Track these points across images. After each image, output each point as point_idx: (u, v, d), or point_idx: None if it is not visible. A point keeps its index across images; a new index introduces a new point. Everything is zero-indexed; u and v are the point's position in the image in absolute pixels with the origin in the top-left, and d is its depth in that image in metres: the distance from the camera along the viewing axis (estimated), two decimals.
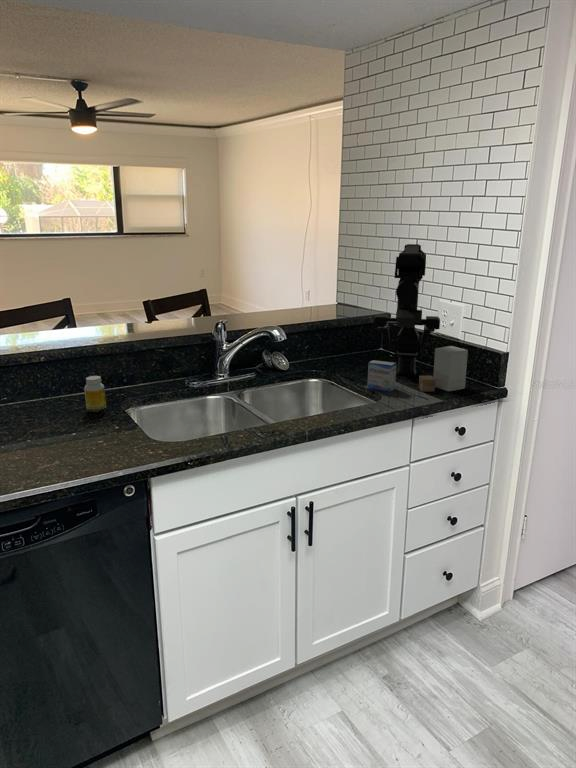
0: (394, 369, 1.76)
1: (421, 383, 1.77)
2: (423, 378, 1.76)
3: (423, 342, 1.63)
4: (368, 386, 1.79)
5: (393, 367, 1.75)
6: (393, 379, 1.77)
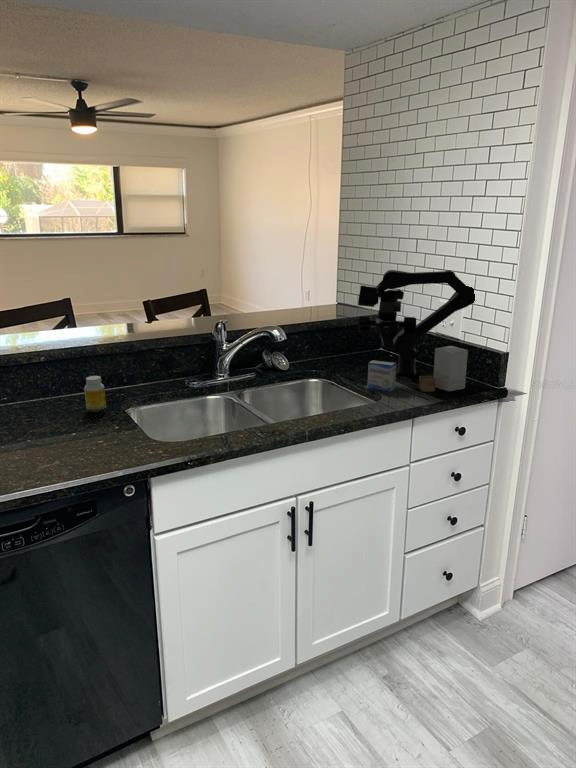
0: (394, 369, 1.76)
1: (421, 383, 1.77)
2: (423, 378, 1.76)
3: (388, 336, 1.82)
4: (368, 386, 1.79)
5: (393, 367, 1.75)
6: (393, 379, 1.77)
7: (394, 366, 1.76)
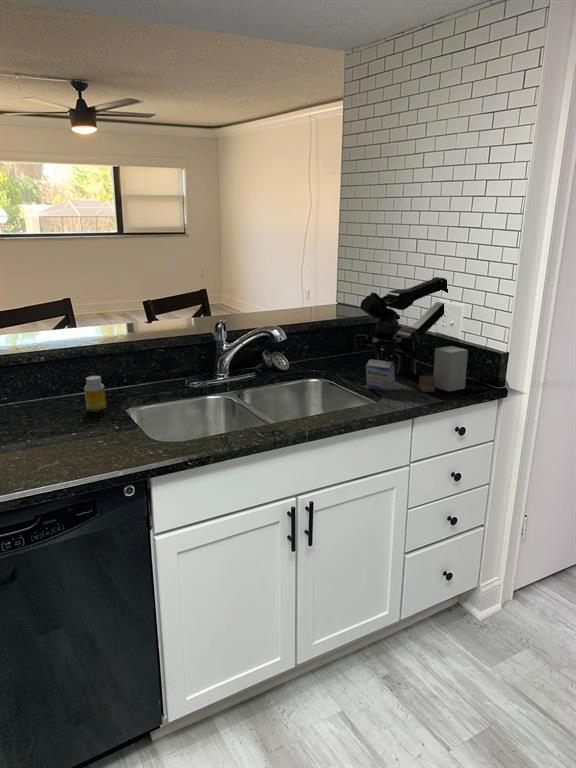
0: (392, 369, 1.74)
1: (421, 383, 1.77)
2: (423, 378, 1.76)
3: (384, 356, 1.78)
4: (368, 386, 1.79)
5: (391, 368, 1.73)
6: (392, 378, 1.76)
7: (392, 367, 1.73)
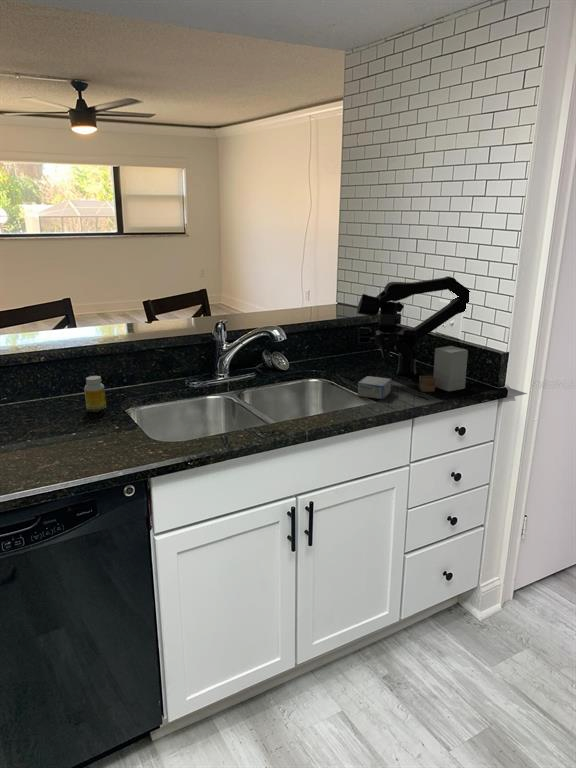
0: (384, 390, 1.70)
1: (421, 383, 1.77)
2: (423, 378, 1.76)
3: (388, 348, 1.82)
4: None
5: (383, 394, 1.69)
6: (387, 387, 1.72)
7: (383, 391, 1.69)
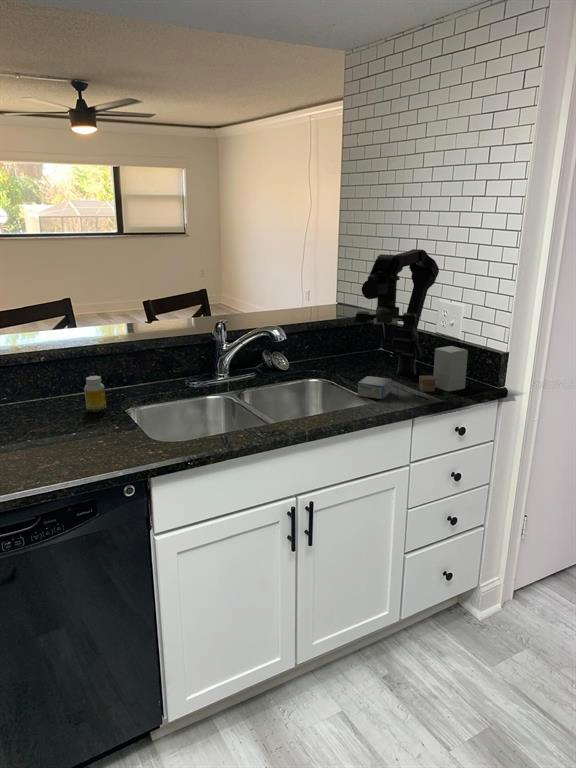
0: (384, 390, 1.70)
1: (421, 383, 1.77)
2: (423, 378, 1.76)
3: (387, 336, 1.79)
4: None
5: (383, 394, 1.69)
6: (387, 387, 1.72)
7: (383, 391, 1.69)
